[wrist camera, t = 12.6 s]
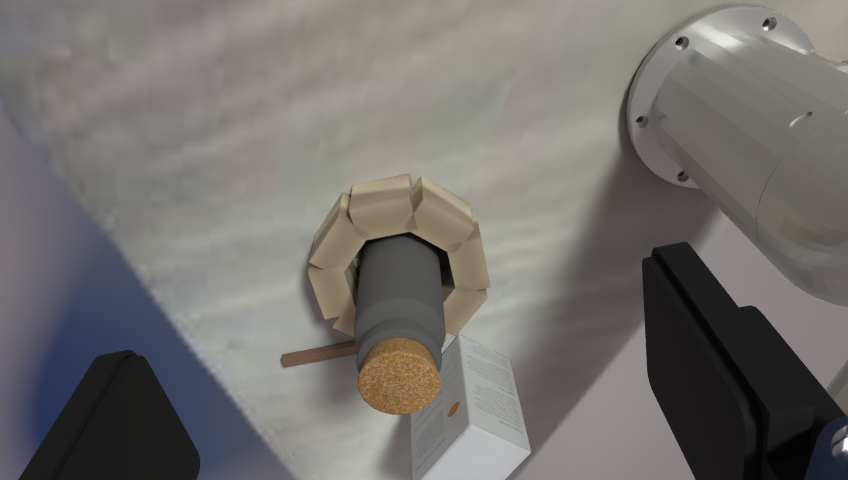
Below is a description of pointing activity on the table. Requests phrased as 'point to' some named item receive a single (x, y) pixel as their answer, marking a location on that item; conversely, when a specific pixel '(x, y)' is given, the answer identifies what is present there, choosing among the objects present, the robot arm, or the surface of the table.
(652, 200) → the table surface
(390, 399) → the bottle
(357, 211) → the segmented wooden ring
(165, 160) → the table surface
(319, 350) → the brown wooden stick
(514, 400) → the small box
